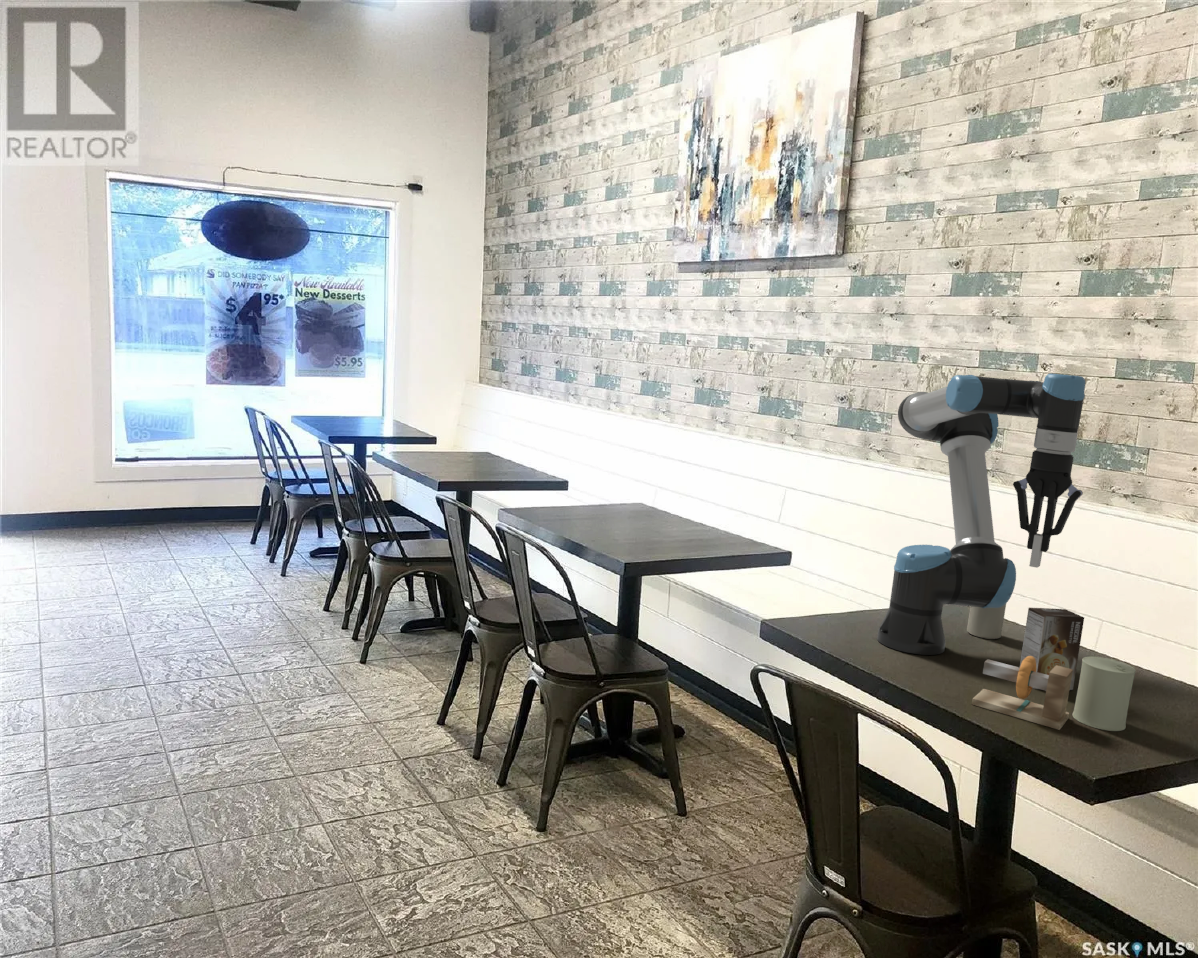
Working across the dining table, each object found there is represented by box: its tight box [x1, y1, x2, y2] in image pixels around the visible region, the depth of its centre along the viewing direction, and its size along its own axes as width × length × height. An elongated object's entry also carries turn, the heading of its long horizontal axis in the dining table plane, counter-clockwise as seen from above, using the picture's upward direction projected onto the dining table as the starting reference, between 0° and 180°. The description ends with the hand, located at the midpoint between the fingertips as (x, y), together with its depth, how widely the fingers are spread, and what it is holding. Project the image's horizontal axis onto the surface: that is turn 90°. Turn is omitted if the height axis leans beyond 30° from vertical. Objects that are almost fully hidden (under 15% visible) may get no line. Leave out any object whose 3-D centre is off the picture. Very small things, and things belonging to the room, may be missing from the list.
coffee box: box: [1019, 607, 1085, 691], centre depth 202 cm, size 9×6×16 cm
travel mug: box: [966, 603, 1007, 640], centre depth 236 cm, size 8×8×18 cm
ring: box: [1015, 656, 1037, 700], centre depth 184 cm, size 2×8×8 cm, turn 143°
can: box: [1072, 655, 1137, 732], centre depth 183 cm, size 9×9×12 cm
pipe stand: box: [971, 658, 1073, 731], centre depth 185 cm, size 16×8×10 cm, turn 53°
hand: (1034, 565), depth 194 cm, fingers closed
